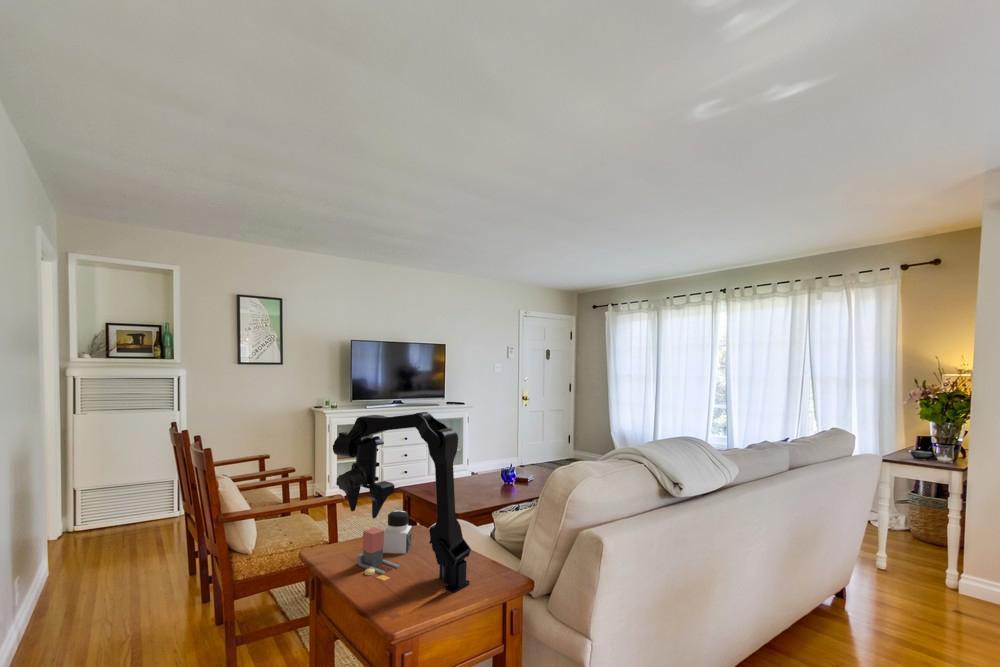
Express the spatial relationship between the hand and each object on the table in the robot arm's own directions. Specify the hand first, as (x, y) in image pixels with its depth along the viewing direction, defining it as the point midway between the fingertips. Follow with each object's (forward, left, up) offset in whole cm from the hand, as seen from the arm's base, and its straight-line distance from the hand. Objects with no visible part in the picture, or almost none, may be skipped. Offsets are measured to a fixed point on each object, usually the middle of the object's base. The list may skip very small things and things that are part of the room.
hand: (363, 514), depth 142 cm
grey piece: (-9, +2, -14) cm, 17 cm away
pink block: (-5, +1, -8) cm, 10 cm away
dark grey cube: (-5, +1, -12) cm, 13 cm away
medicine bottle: (-2, -11, -14) cm, 18 cm away
